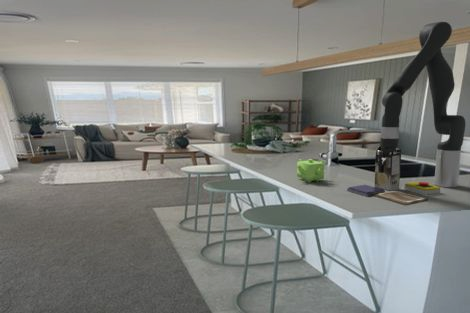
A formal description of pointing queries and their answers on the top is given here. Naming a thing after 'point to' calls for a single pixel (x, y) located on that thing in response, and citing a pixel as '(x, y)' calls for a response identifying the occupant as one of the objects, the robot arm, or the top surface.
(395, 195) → the marked board
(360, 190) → the ink pad
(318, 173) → the green knobbed block
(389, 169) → the coffee box
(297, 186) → the top surface
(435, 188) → the emergency button
